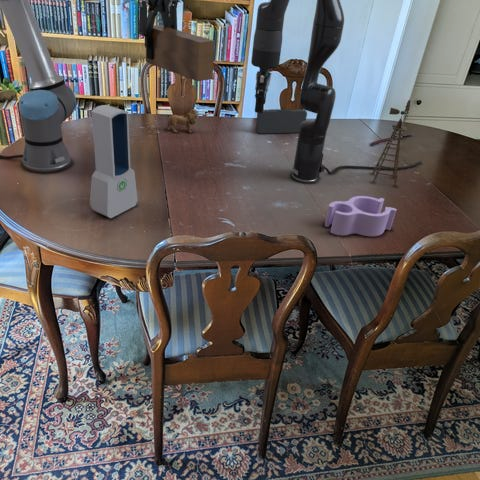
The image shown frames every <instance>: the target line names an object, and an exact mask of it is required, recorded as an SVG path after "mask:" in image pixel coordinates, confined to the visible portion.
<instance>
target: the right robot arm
mask: <svg viewBox="0 0 480 480" xmlns="http://www.w3.org/2000/svg"><path fill="white" fill-rule="evenodd" d="M341 3H342V2H341V0H316V4H315V5H316V6H315V11H314V18H313V22H312V29H311V34H310V35H311V36H310V45H309V51H308V56H307V63H306V67H305V71H304V75H303V80H302V83H301V87H300V88H301V89H300V93H299V106H300V108H301V110H305V111H306V112H309V113H313V114H316V117H315V119H306V121H303V122H302V123H301V125H300V130H299V133H298V136H297V143H296V149H295V155H294V161H293V166H292V170H291V178H292V179H293V180H295V181H297V182H300V183H302V184H303V183H304V184H312V183H315V182H317V181H318V179H319V178H320V173H321V174H322V173H323V172H325V171H326V173H327V174H328V175H333V174H335V173H336V172H337V171H338V170H340V169H366V170H367V169H368V170H374V169H375V167H376V166H366V165H340V166H337V167H335V168H334V170H333V171H330V169H329V168H328V167H327V166H326V165H324V164H323V159H324V152H323V151H324V146H325V141H326V138H327V137H326V136H327V132H328V128H329V126H330V123H331V119H332V114H333V110H334V107H335V102H336V97H337V95H336V89H335V88H334V87H332V86H328V85H325V84H321V83H318V80H319V76H320V72H321V70H322V69H323V66H324V65H325V63H326V62H327V61H328V60H329V59H330V58H331V56H332V55H333V54H334V53H335V52H336V50H337V49H338V47H339V46H340V44H341V42H342V36H343V31H344V25H345V15H344V10H343V7H342V4H341ZM289 4H290V0H270V1H265V2H261V3H259V5H258V7H257V10H256V11H257V13H256V20H255V21H256V22H255V30H254V33H253V34H254V35H253V41H252V50H251V60H250V61H251V62H250V63H251V65H252V66H253V67H255V68H259V70H257V72H256V74H255V87H254V89H255V94H254V98H255V105H254V112H255V113H256V114H257V113H262V112H263V110H264V106H265V104H266V102H267V101H266V100H267V99H266V98H267V93H268V91H269V87H270V82H271V79H272V72H271V69H272V70H274V69H278V68H279V67H280V61H281V53H282V46H283V45H282V44H283V31H284V24H285V15H286V11H287V10H288V6H289ZM422 162H423V161H421V160H420V161H419V160H418V161H417V162H415V163H413V164H410V165H405V166H398V169H397V170H403V169H404V170H405V169H410V168H413V167H416V166H418V165H419V164H422ZM392 167H393V168H394V166H392ZM378 169H379V166H378V167H377V170H378ZM380 170H392V169H391V168H385V167H381V169H380Z"/></svg>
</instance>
